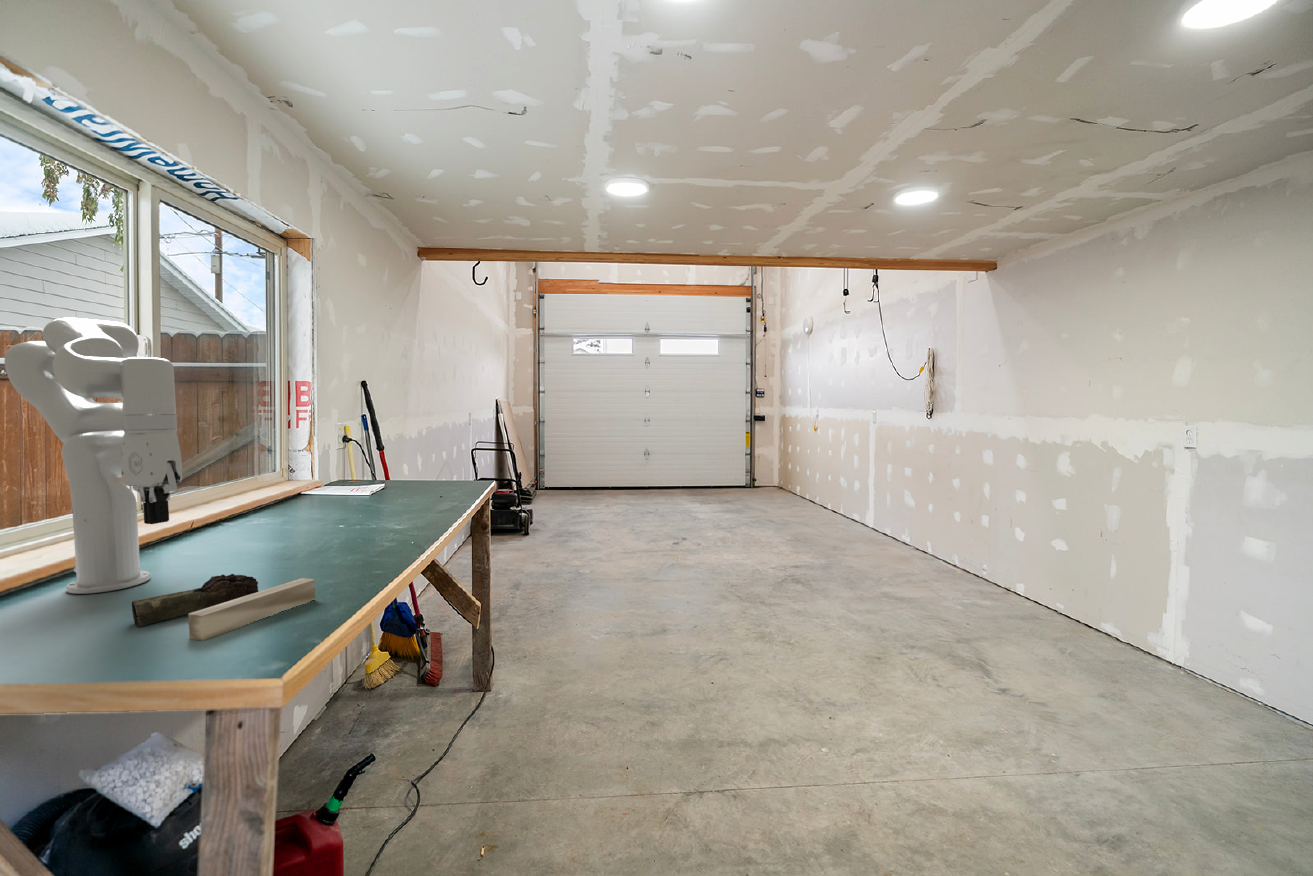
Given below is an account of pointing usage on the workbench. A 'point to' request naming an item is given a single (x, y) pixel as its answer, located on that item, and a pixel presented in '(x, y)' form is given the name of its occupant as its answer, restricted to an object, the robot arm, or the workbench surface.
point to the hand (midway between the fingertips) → (156, 522)
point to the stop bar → (249, 608)
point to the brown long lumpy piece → (193, 599)
